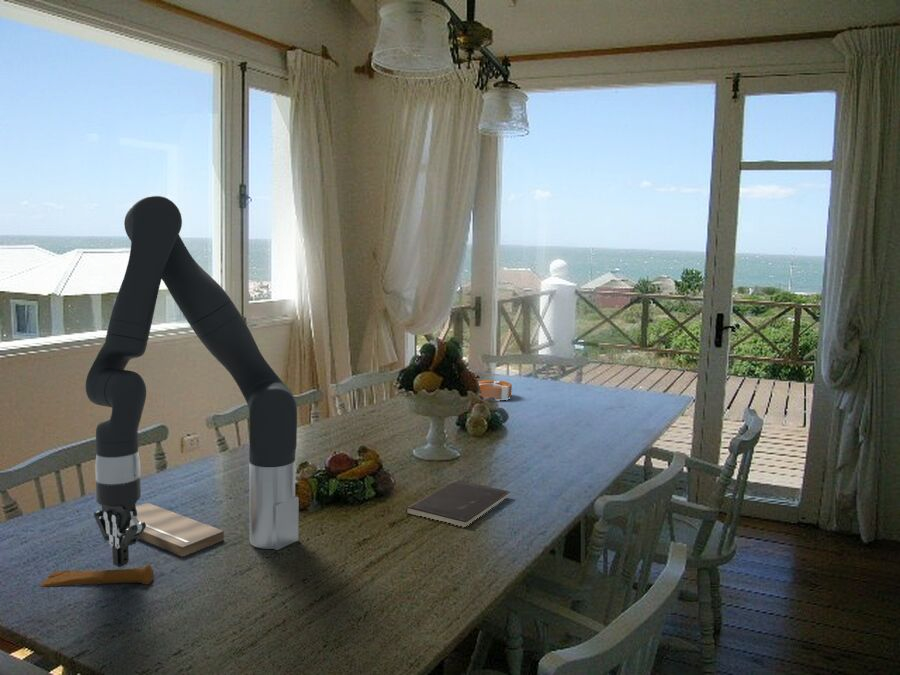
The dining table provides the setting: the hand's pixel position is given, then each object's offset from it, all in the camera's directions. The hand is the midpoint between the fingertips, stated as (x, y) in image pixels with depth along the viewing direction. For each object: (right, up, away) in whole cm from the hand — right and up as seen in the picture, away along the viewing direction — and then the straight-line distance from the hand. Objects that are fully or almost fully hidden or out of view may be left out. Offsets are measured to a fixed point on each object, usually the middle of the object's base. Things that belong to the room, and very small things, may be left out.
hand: (120, 564), depth 135 cm
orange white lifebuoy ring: (+80, +18, +158) cm, 178 cm away
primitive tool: (-2, -2, -4) cm, 5 cm away
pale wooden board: (+1, +1, +17) cm, 18 cm away
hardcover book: (+64, +1, +39) cm, 75 cm away
